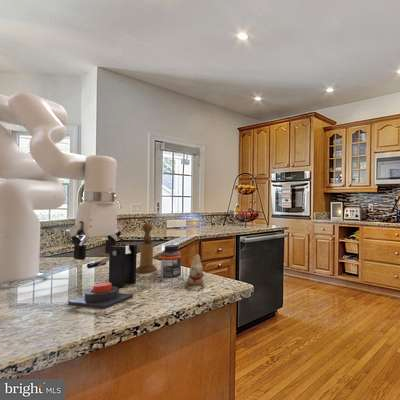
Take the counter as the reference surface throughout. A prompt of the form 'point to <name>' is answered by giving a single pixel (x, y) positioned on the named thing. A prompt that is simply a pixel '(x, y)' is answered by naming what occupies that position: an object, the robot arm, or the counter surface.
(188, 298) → the counter surface
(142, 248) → the brown chess piece
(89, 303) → the button box
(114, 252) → the bracket
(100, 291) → the button
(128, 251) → the lever
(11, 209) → the robot arm
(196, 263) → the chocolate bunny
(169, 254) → the supplement bottle
